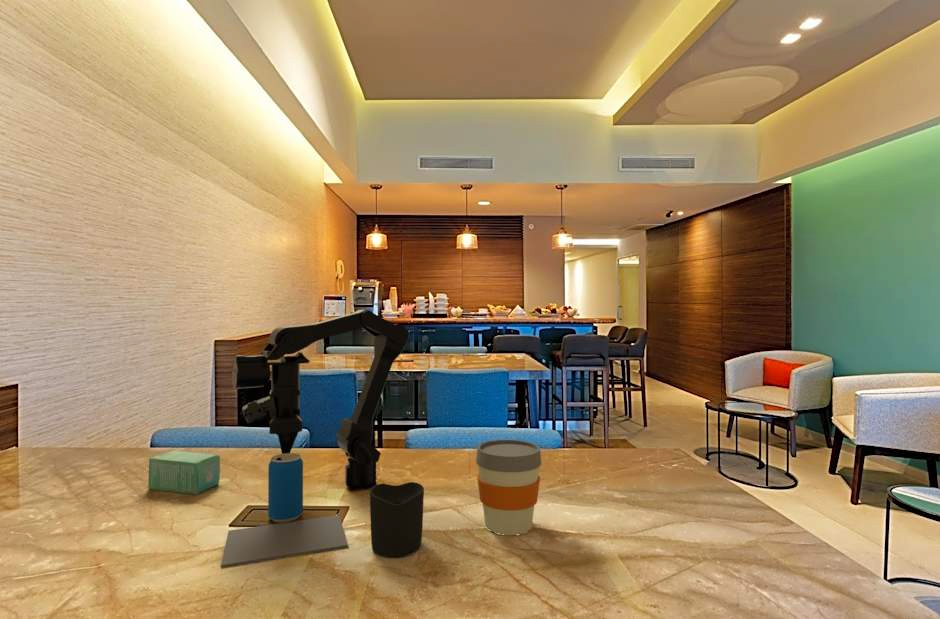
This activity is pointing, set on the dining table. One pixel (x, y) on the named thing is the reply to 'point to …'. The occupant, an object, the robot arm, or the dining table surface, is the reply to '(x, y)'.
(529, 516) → the reusable coffee cup
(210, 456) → the box
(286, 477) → the beverage can
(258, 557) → the mat
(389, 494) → the pen holder
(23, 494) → the dining table surface
